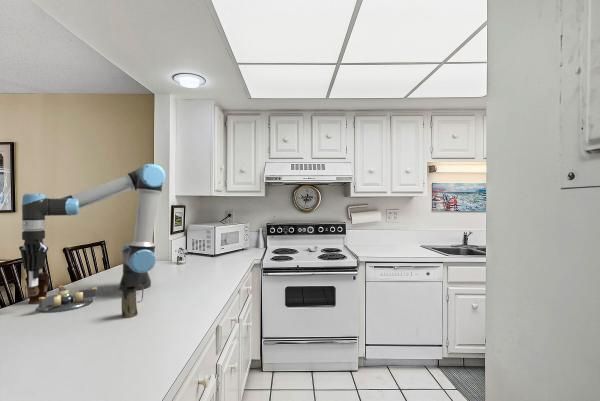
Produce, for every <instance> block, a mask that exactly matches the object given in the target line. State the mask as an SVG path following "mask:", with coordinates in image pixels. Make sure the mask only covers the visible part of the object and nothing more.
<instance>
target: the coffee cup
mask: <svg viewBox="0 0 600 401" xmlns="http://www.w3.org/2000/svg"><path fill="white" fill-rule="evenodd" d="M49 279H50V275H49V274H48V272H39V278H38V285H37V286H33V287H29V278H28V275H27V276H26V278H25V279H24V280H25V281H26V285H25V287H26V291H27V297H28V299H29V300H28V304H30V305H31V304H33V305H34V304H39V298H40V297H47V294H48V287H49V286H48V285H49V284H48V283H49Z"/></svg>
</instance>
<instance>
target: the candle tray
mask: <svg viewBox="0 0 600 401" xmlns="http://www.w3.org/2000/svg"><path fill="white" fill-rule="evenodd" d="M93 303H94V297H88V298H84V301H81V302H75V295H71V294H70V292H69V293H65V294H64V295H63V296H62V297H61V305H60V306H56V307H51V305H48V306H45V307H39V305H38V307H37V311H38V312H40V313H60V312H61V313H62V312H68V311H69V312H70V311H73V310H77V309H81V308H84V307H87V306H89V305H91V304H93Z"/></svg>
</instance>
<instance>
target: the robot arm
mask: <svg viewBox="0 0 600 401" xmlns="http://www.w3.org/2000/svg"><path fill="white" fill-rule="evenodd" d="M165 181H166V172H165V169H164V168H163V167H161V166H160V165H158V164H156V163H147V164H144V165H143V166H140V167H139V168H137V169H134V170H133V171H131V172H130V171H129V172H128V173H126V174H125V175H124V176H122V177H120V178H116V179H114V180H111V181H107V182H104V183H102V184H99V185H95V186H93V187H90V188H87V189H84V190H81V191H79V192H76V193H73V194H70V195H66V196H63V197H60V198H47V197H46V194H45V193H24V195H22V199H21V200H22V202H21V221H22V224H21V227H22V228H21V229H22V230H23V231H21V239H22V240H23V245H20V246H19V247H18V249H19V251H20V255H21V260H22V261H21V262H22V266H23V269H24V270H27V272H28V273H27V276H28V278H29V287H33V286H37V285H38V278H39V273H40V270H42V269H44V268H45V260H46V256H47V252H48V251H49V246H45V245H44V239H45V238H46V230H45V229H46V217H47V216H48V217H49V216H55V217H56V216H57V217H58V216H62V217H63V216H76V215H78V214H79V211H80V209H82V208H85V207H87V206H91V205H94V204H97V203H100V202H102V201H105V200H107V199H110V198H113V197H116V196H118V195H121V194H124V193H126V192H127V193H128V192H130V191H133V192H134V191H137V192H138V193H139V194H138V202H137V211H136V218H135V224H134V227H135V228H134V235H133V241H132V242H131V243H129V244H125V245H123V246H122V250H121V252H122V275H121V278H120V282H119V286H118V287H119V288H118V289H119V290H120V291H122V290H123V288H125V287H131V286H135V287H136V286H137V285H143V290H144V289H147V288H148V289H149V287H151V286H152V280H151V278H150V275H149V272H150V271H151V270H152V269H153V268H154V267H155V265H156V263H157V262H156V261H157V258H156V254H155V250H156V244H155V243H154V241H153V239H154V231H155V222H156V216H157V215H156V214H157V208H158V206H157V205H158V197H159V195H160V194H161V193H162V192H163V185H164V183H165ZM139 290H142V286H137V288H136V291H139Z"/></svg>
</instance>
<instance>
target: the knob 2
mask: <svg viewBox="0 0 600 401" xmlns="http://www.w3.org/2000/svg"><path fill="white" fill-rule="evenodd" d="M65 293H69V294H70V290H69V289H67V288H65V286H64V285H63V284H61V285H58V295H61V297H62V296H63V295H64V294H65Z"/></svg>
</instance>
